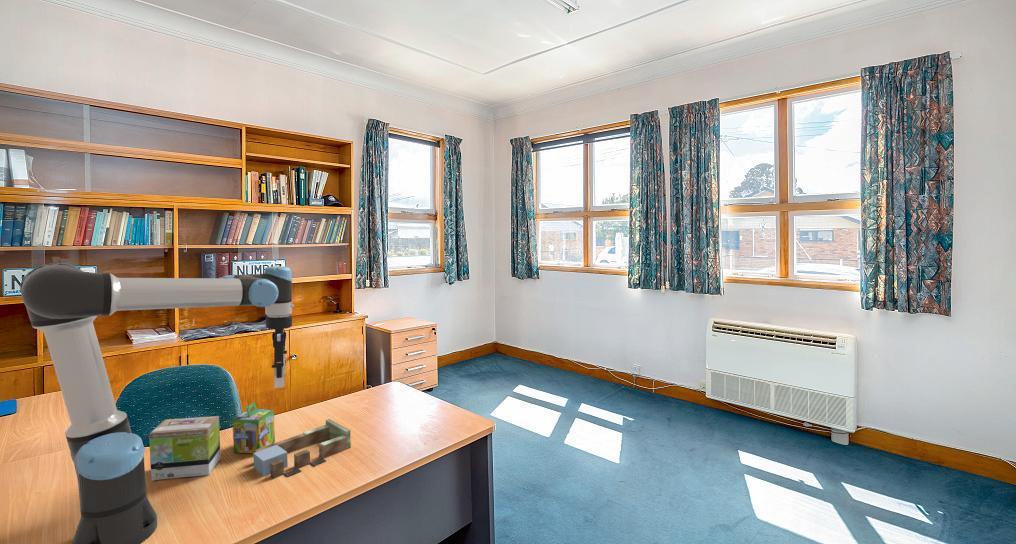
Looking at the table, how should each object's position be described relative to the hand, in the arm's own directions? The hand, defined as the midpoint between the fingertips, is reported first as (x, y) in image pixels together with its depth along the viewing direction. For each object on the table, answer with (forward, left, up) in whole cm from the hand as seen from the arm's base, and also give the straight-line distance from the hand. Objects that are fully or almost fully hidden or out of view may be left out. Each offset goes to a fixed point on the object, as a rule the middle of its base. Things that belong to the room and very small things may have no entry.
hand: (280, 380), depth 144 cm
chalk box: (-4, +11, -25) cm, 27 cm away
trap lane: (+4, -7, -24) cm, 26 cm away
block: (-6, -6, -25) cm, 26 cm away
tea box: (-23, +11, -25) cm, 36 cm away
